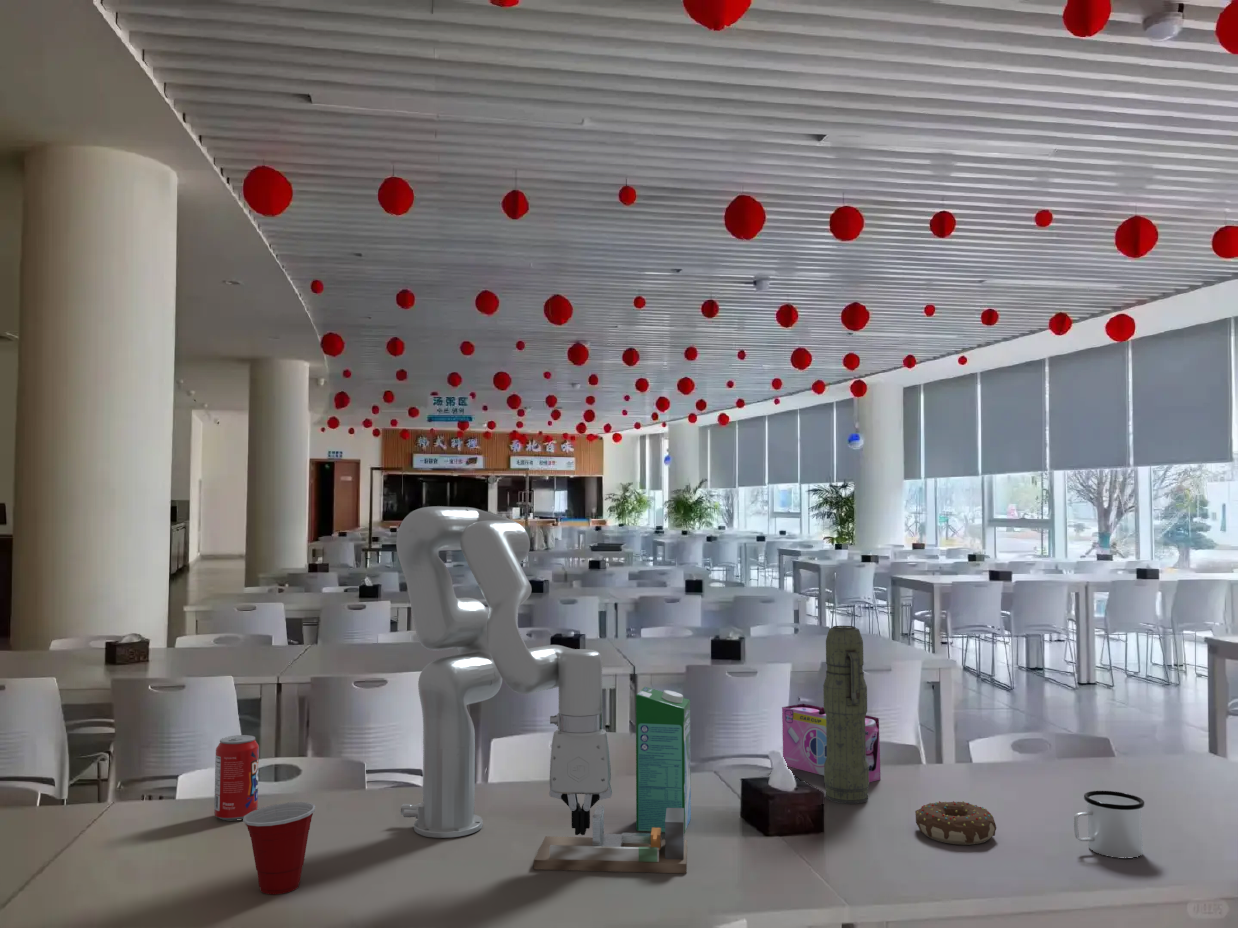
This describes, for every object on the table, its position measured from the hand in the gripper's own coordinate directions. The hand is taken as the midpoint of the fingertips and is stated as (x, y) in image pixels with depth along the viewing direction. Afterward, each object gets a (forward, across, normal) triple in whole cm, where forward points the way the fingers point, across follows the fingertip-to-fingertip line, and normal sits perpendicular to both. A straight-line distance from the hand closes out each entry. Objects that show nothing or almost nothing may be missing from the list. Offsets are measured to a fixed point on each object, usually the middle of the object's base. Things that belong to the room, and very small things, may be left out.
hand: (580, 832), depth 165 cm
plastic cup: (+4, -46, -17) cm, 49 cm away
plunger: (+2, +7, 0) cm, 8 cm away
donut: (+5, +66, +18) cm, 69 cm away
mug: (+5, +90, +11) cm, 91 cm away
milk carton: (+4, +13, +19) cm, 24 cm away
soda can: (+4, -70, +18) cm, 72 cm away
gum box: (+5, +50, +61) cm, 79 cm away
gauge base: (+4, +5, 0) cm, 7 cm away
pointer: (+2, +13, -1) cm, 13 cm away
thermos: (+5, +50, +40) cm, 65 cm away
